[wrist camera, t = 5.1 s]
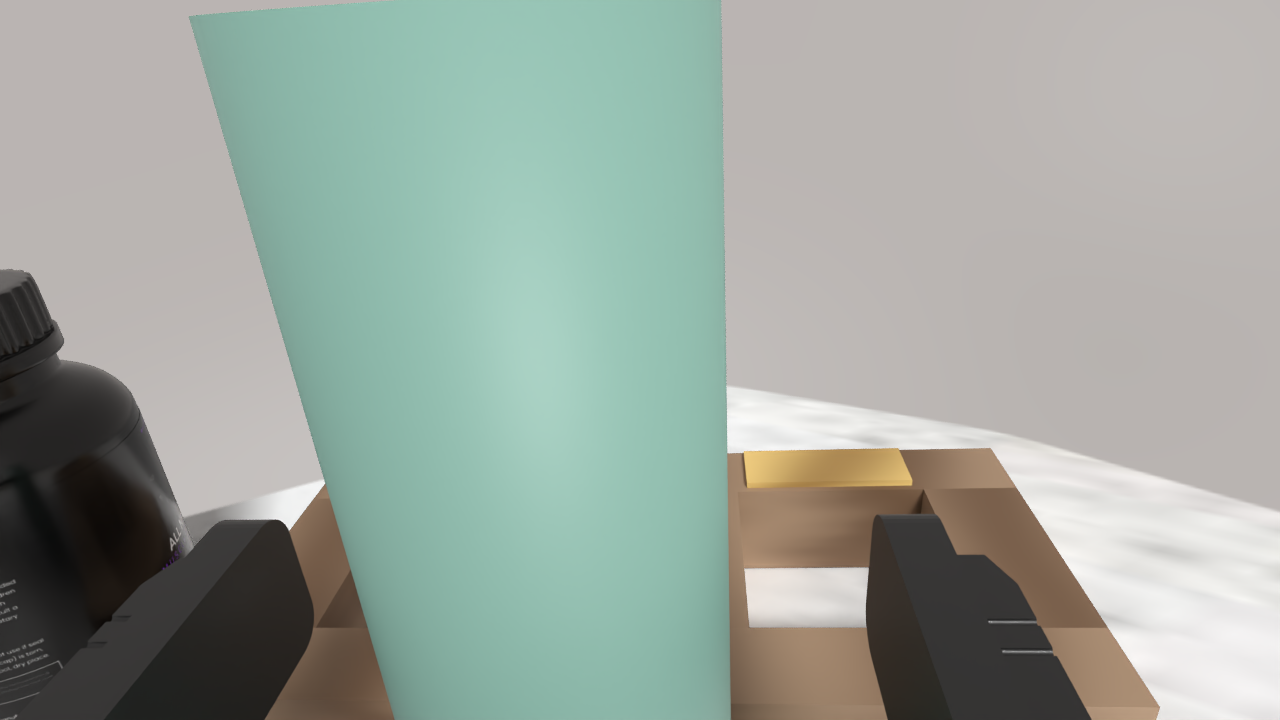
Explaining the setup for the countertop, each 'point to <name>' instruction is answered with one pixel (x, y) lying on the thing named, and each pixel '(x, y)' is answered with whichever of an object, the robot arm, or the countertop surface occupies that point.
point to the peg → (504, 334)
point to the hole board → (779, 538)
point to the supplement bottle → (68, 498)
